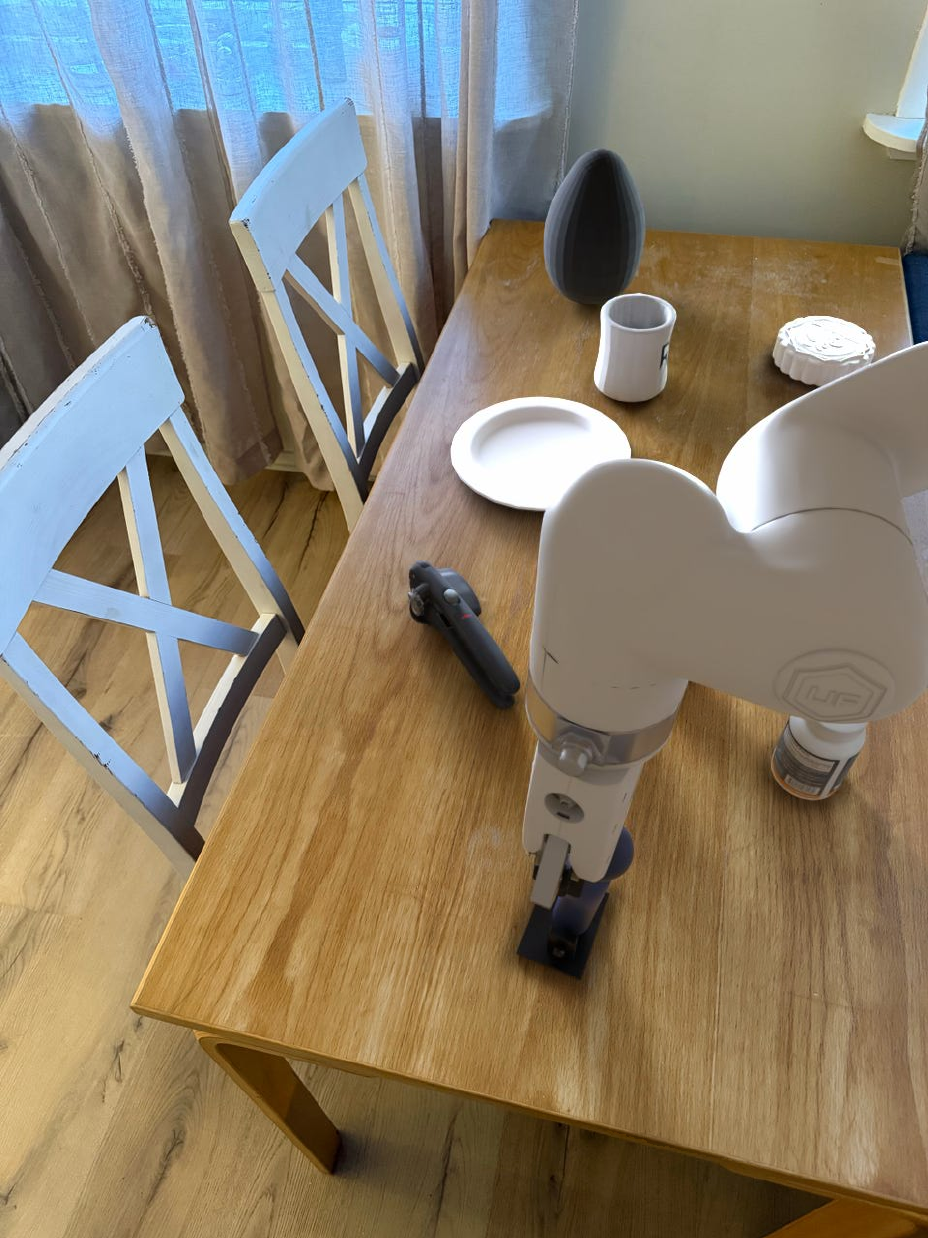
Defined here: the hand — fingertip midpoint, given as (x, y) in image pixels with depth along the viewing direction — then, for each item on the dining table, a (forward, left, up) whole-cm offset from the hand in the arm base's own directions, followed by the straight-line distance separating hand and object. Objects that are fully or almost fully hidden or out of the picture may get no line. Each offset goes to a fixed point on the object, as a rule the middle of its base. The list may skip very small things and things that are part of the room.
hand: (569, 852), depth 56 cm
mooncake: (-7, -83, -12) cm, 84 cm away
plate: (+20, -51, -12) cm, 56 cm away
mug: (+15, -71, -12) cm, 74 cm away
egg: (+26, -88, -12) cm, 93 cm away
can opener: (+17, -22, -12) cm, 30 cm away
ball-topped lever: (-3, 0, -4) cm, 5 cm away
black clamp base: (-1, 0, -12) cm, 12 cm away
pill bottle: (-15, -20, -12) cm, 28 cm away
